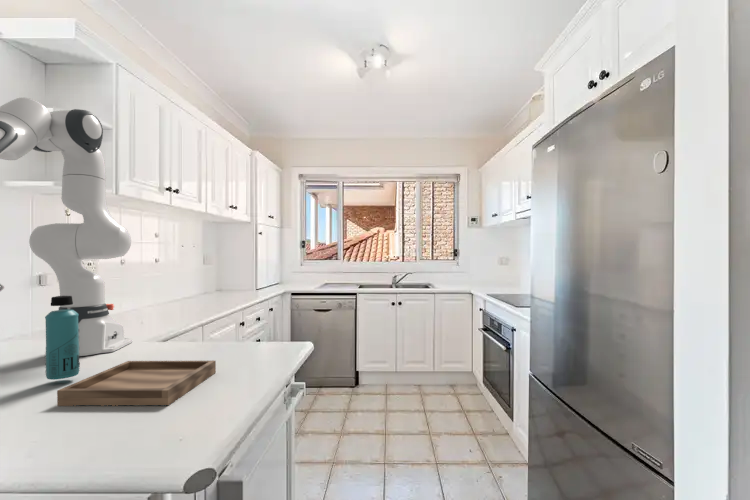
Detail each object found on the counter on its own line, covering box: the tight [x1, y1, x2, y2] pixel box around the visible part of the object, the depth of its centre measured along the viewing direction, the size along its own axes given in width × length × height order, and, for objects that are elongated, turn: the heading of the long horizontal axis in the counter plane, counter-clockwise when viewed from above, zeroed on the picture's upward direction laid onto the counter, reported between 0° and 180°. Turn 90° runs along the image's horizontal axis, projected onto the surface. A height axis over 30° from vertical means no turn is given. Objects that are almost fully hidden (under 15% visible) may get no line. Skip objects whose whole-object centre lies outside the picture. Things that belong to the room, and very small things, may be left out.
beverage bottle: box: [44, 295, 81, 380], centre depth 96 cm, size 6×7×20 cm
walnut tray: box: [56, 360, 217, 407], centre depth 92 cm, size 22×22×3 cm
